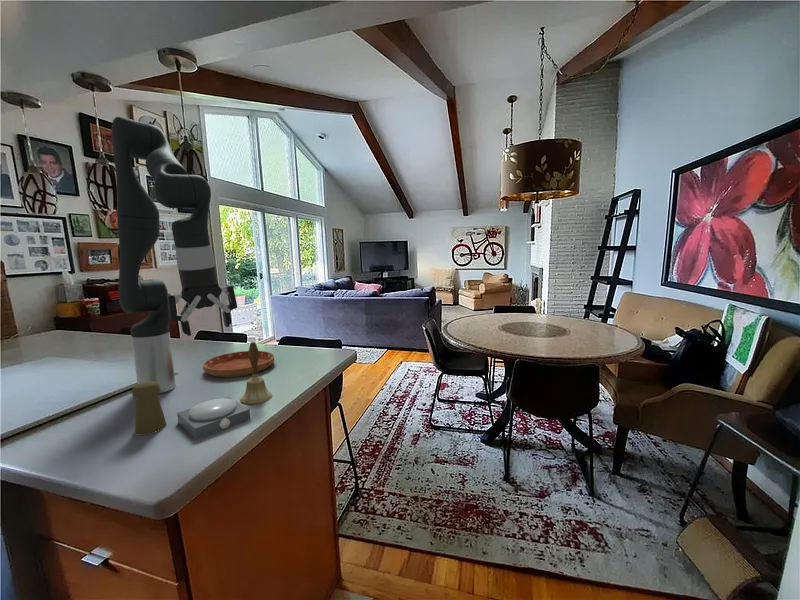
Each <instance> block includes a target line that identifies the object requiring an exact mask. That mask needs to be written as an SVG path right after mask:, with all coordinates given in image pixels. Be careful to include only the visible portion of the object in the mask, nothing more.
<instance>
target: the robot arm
mask: <svg viewBox="0 0 800 600" xmlns="http://www.w3.org/2000/svg"><path fill="white" fill-rule="evenodd" d="M110 130H111V143H112V151H113V153H112V154H113V158H114V159H113V160H114V169H115V179H116V215H117V216H116V218H117V232H118V233H117V234H118V245H119V247H118V248H119V271H118V288H117V290H118V291H117V292H118V295H117V296H118V302H119V305H120V308H121V309H122V311H123V312H125V313H127V314H135V313H145V312H149V313H148V315H147V316H146V317H145V318H144V319H143V320H140V321H139V322H137V323H135V324H132V326H131V327H130V338H131V346H132V352H133V360H134V367H135V375H136V383H137V384H140V383H143V382H148V381H154V382H157V383H158V384H159V386H160V392H159V394H164V393H166V392H170V391H172V390H173V389H175V388H176V375H175V367H174V360H173V351H172V343H171V335H170V334H171V332H170V322H171V321H172V322H175V321H178V322H180V326H181V330H182V333H183V334H184V335H186V336H187V337H190V336H192V331H191V328H190V321H189V320H188V318H190V315H192V313H193V312H194V310H195V309H197V310H200V309H203V308H211V307H213V306H214V305H216V306H217V307H218V308H220V309H221V310H223V311H222V312H221V313H222V320H223V324H224V325H223V326H224V327H225V328H229V327H230V325H232V315H231V312H232V311H233V310H236V309H237V308H238V302H237V298H236V295H235V293H236V292H235V288H234V287H233V286H232V285H231V284H226V285H225V286H219V282H218V275H217V269H216V259H215V257H214V252H213V250H212V245H211V239H210V233H209V223H208V222H209V213H210V211H209V210H210V205H211V198H212V192H211V190H212V189H211V186H210V185H209V182H208V181H207V180H206V179H205V177H203V176H201V175H199V174H189V173H188V171H187V170H186V169H185V167H184V166H183V165H182V163H180V161H179V160H178V159H177V157H175V155H174V152H173V149H172V147H171V145H170V143H169V140H168V138H167V136H166V135H165V133H164V132H163V130H162V129H161V128H160V127H159V126H156V125H153V124H151V123H147V122H142V121H139V120H135V119H131V118H127V117H124V116H115V117H114V118H113V120H112V123H111V129H110ZM132 158H133V159H138V160H144V161H145V167H146V171H147V173H148V175H149V176H150V177H151V179H153V183H154V185H153V189H154V195H155V198H156V201H157V202H158V203H159V204H161V205H162V206H163V207H165V208H168V209H193V210H192V213H191V214H190V216H188V217H186V218H181V219H177V220H174V221H173V222H172V224H171V232H172V237H173V241H174V242H173V243H174V248H175V259H176V260H175V261H176V263H177V269H178V275H179V279H180V285H181V293H170V292H168V288H167V286H166V284H165V282H164V281H163V280H162V279H159V278H152V279H151V278H150V279H149V278H148V279H139V278H140V277H139V276H140V271H141V266H142V265H143V264H142V263H144V260H145V258H146V257H147V256H148V254H149V253H150V252H151V250H152V249H153V247H154V246H155V245H156V243H157V241H158V239H159V236H160V226H161V225H160V213H159V209H158V207H157V205H156V203H155V202H154V200H153V199H152V198H151V196H150V195H149V193H148V192H147V190H146V189H145V188H144V187H143V185H142V184H141V182H140V180H139V179H138V177H137V174H136V171H135V170H134V167H133V163H132ZM222 292H223V294H224V295H226V296H227V299H228V304H227V305H226V304H224V302H221V300H220V299H219V297H220V296H221V294H222ZM181 299H182V300H184V301H185V302H186V303H185V304H184V306H183V309H182V310H181V312H180V314H178V311H177V304H179V302H180V300H181ZM137 384H136V385H137ZM159 394H158V395H159Z"/></svg>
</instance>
